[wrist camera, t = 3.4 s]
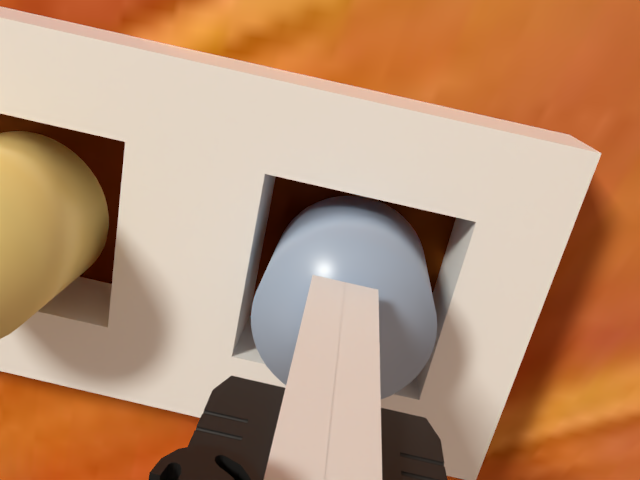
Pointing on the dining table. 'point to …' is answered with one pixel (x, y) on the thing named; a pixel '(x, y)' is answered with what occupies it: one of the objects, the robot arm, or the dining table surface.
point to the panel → (253, 210)
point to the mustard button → (44, 223)
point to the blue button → (352, 267)
